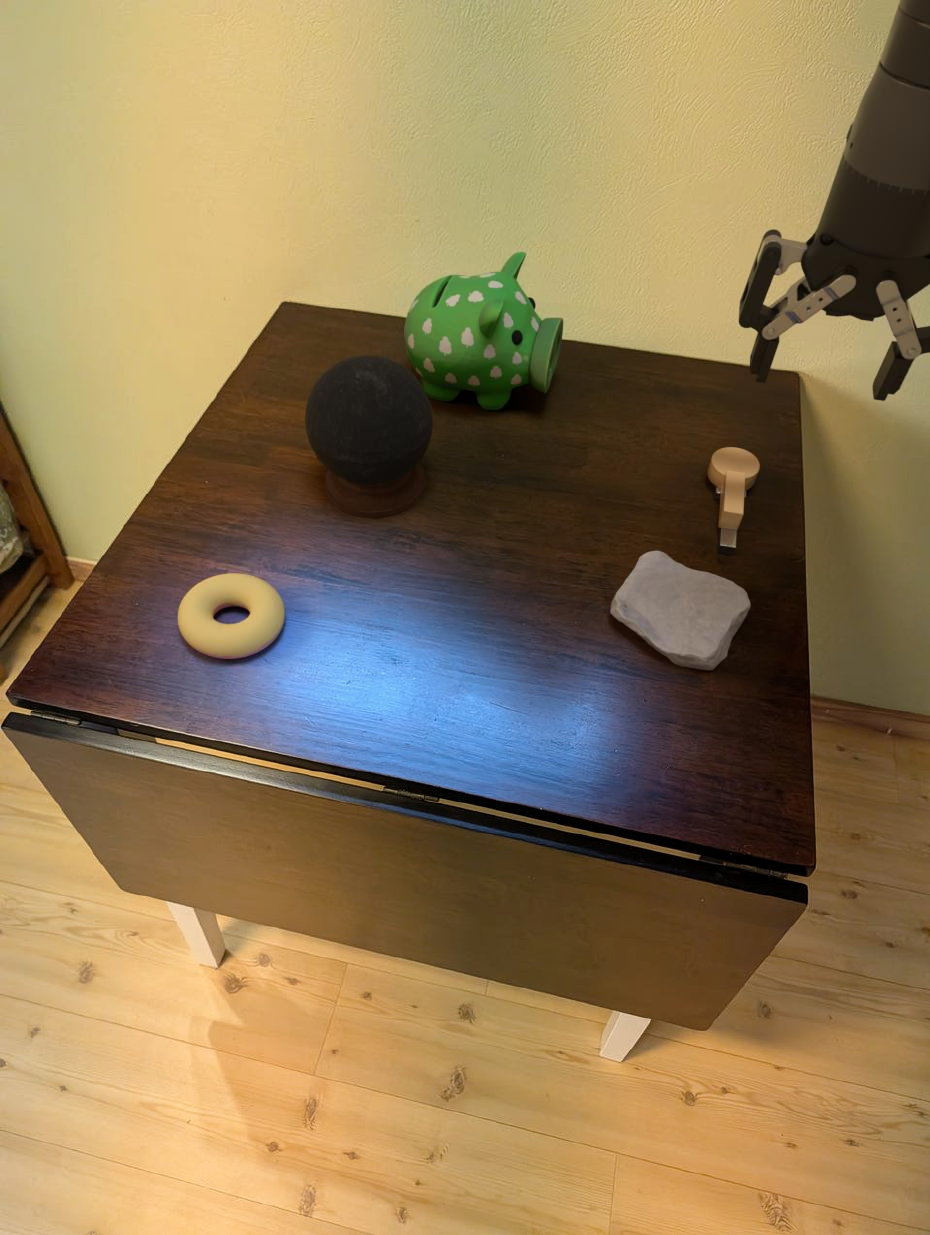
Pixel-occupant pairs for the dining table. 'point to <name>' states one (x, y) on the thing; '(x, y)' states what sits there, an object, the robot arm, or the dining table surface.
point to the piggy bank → (481, 337)
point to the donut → (231, 637)
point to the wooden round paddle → (732, 482)
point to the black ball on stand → (370, 435)
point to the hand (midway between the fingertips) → (818, 385)
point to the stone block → (681, 610)
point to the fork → (726, 532)
